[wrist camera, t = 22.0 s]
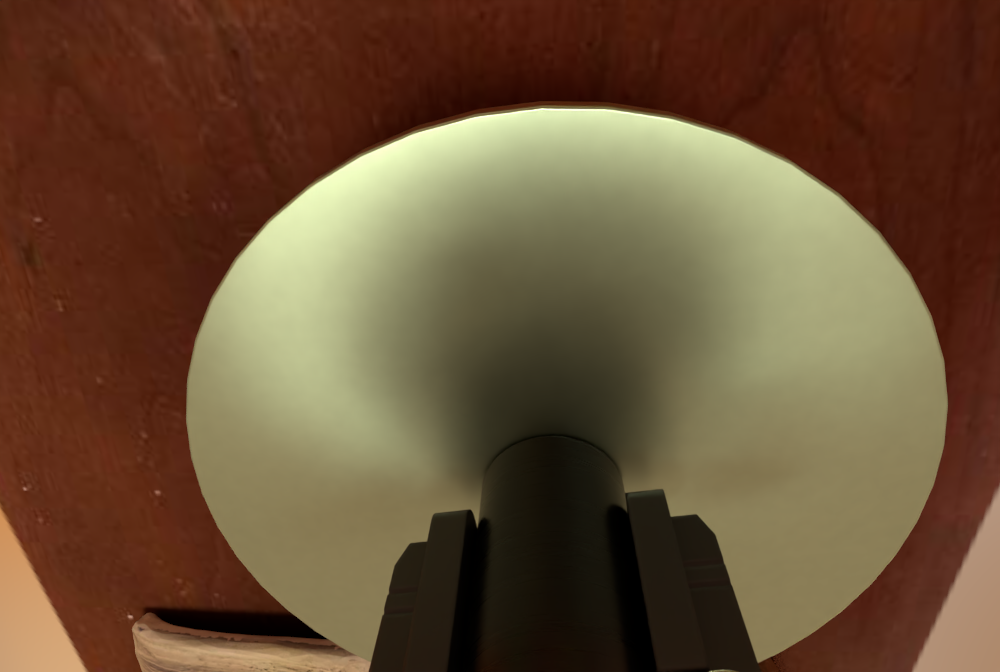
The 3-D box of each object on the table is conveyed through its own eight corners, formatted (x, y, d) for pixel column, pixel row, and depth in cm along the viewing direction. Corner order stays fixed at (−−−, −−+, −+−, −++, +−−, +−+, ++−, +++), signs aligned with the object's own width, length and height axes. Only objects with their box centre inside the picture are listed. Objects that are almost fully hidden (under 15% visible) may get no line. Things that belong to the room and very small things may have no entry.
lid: (977, 4, 10) (1785, 28, 3) (881, 646, 17) (1081, 1026, 11) (75, 183, 12) (-445, 400, 5) (335, 685, 19) (238, 1022, 13)
